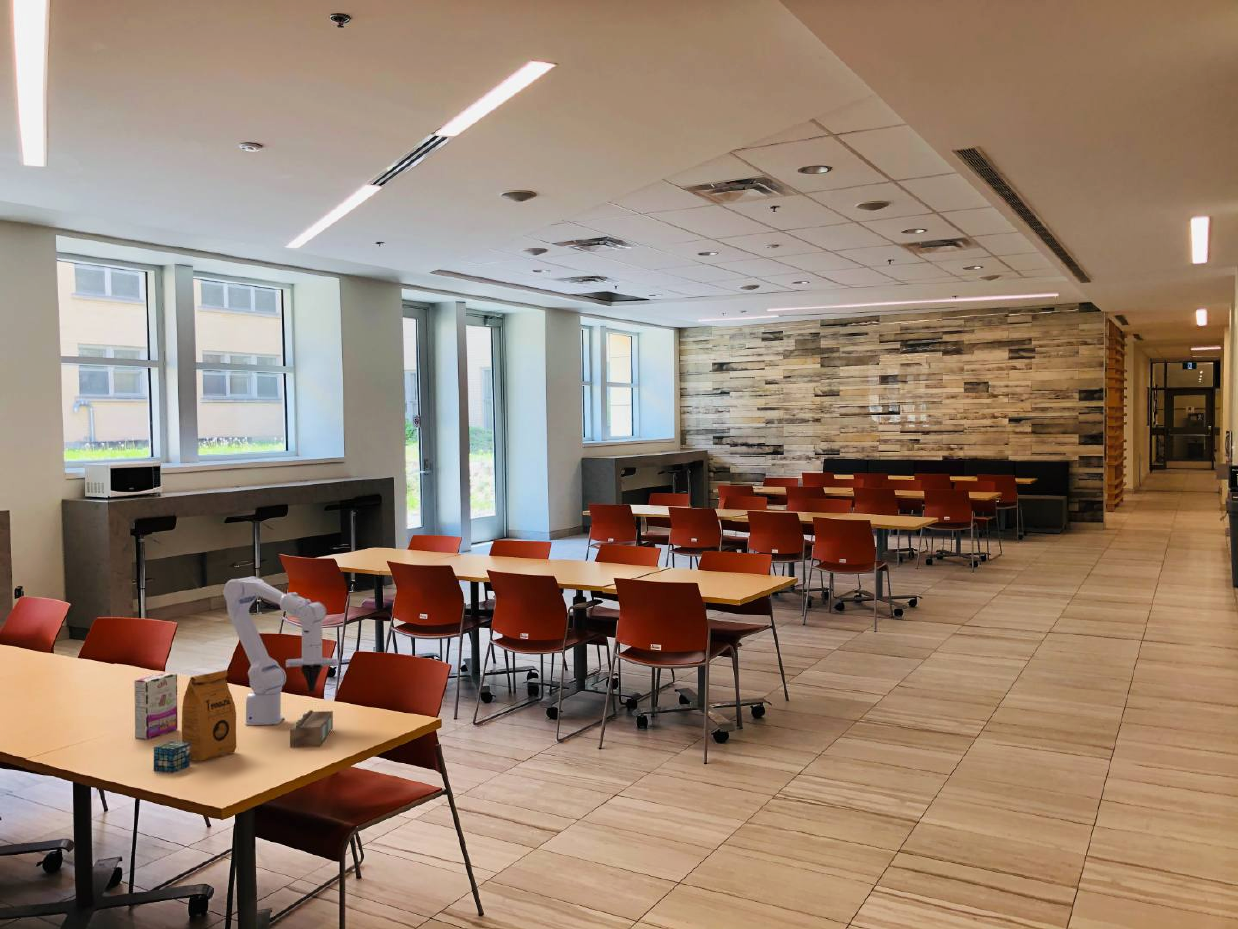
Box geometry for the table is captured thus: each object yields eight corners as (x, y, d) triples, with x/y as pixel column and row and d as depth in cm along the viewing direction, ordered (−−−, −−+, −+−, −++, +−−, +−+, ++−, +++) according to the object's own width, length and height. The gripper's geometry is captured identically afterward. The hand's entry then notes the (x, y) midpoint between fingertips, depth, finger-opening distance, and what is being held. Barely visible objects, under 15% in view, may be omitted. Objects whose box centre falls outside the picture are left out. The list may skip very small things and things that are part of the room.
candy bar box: (164, 728, 280) (165, 671, 280) (178, 730, 278) (178, 673, 278) (133, 738, 269) (133, 679, 269) (146, 740, 268) (147, 681, 268)
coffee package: (241, 753, 255) (242, 670, 255) (198, 765, 245) (199, 679, 245) (219, 747, 261) (220, 666, 261) (176, 759, 250) (177, 674, 251)
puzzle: (170, 764, 246) (171, 741, 246) (190, 766, 244) (190, 743, 244) (153, 771, 240) (153, 747, 240) (172, 773, 239) (173, 749, 239)
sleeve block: (289, 747, 261) (290, 726, 261) (304, 730, 278) (304, 710, 278) (320, 746, 262) (320, 725, 262) (332, 730, 279) (332, 710, 279)
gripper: (283, 647, 278) (283, 694, 278) (334, 646, 279) (334, 693, 279) (289, 643, 285) (289, 689, 285) (339, 642, 286) (339, 688, 286)
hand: (312, 690), depth 283 cm, fingers closed
